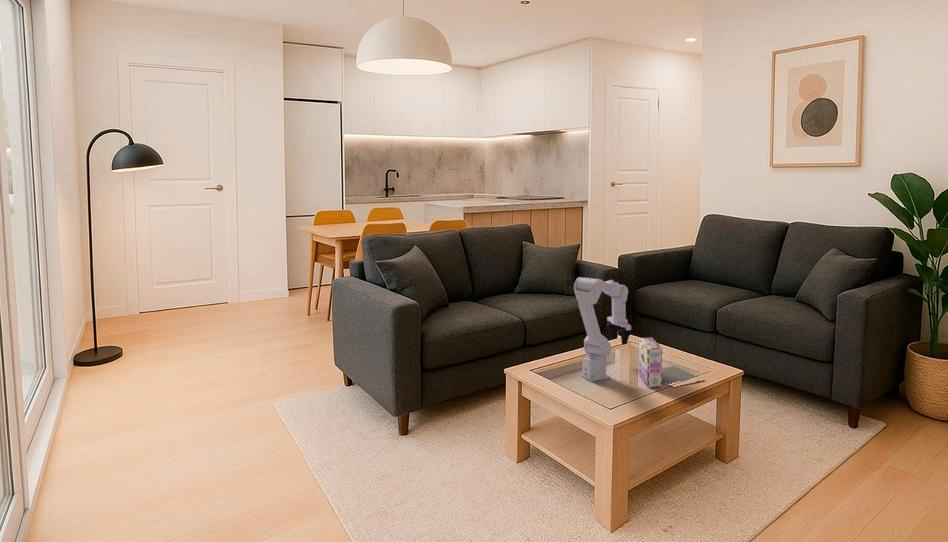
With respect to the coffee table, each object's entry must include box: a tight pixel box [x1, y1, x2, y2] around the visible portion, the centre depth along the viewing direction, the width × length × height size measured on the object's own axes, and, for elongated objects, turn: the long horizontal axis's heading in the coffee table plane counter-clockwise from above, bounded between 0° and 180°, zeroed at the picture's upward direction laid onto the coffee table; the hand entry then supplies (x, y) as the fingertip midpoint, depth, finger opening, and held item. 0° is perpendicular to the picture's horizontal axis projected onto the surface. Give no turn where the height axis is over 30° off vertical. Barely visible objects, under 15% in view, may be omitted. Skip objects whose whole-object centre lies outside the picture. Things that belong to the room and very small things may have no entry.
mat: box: [662, 365, 699, 385], centre depth 248 cm, size 16×18×1 cm
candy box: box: [638, 336, 663, 389], centre depth 242 cm, size 14×6×16 cm, turn 179°
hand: (619, 341), depth 261 cm, fingers open, 7 cm apart
